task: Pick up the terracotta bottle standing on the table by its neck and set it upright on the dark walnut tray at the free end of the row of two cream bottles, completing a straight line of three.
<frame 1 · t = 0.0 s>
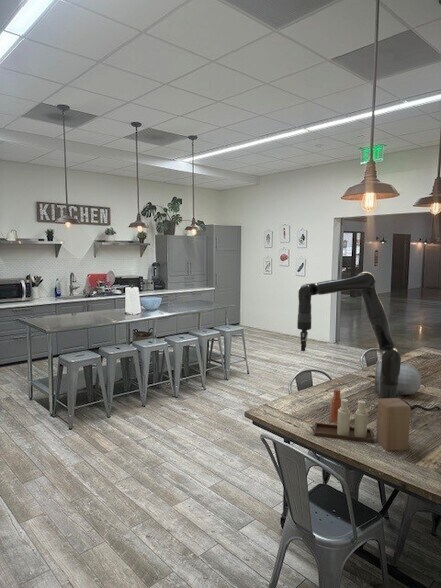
hand: (303, 349, 220), 29 cm above the table, tool pointing down, fingers open, 8 cm apart
wooden block: (391, 446, 172), on the table
terracotta bottle: (335, 421, 196), on the table
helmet: (392, 392, 235), on the table
tray: (343, 434, 182), on the table
cream bottle 1: (360, 435, 180), resting on tray
cream bottle 2: (343, 433, 182), resting on tray
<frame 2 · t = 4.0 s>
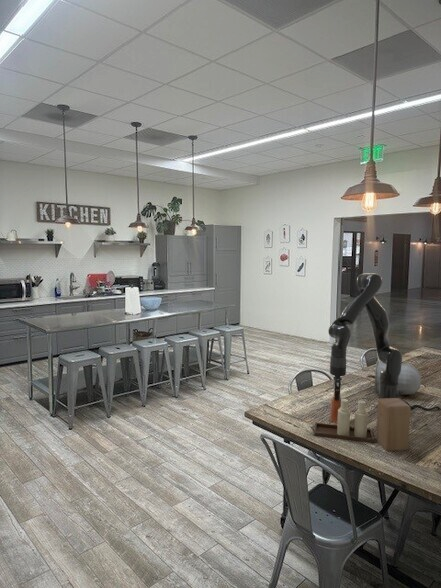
hand: (336, 398, 195), 12 cm above the table, tool pointing down, fingers closed on terracotta bottle, 4 cm apart
terracotta bottle: (335, 421, 196), on the table, touching gripper
everything else where it was.
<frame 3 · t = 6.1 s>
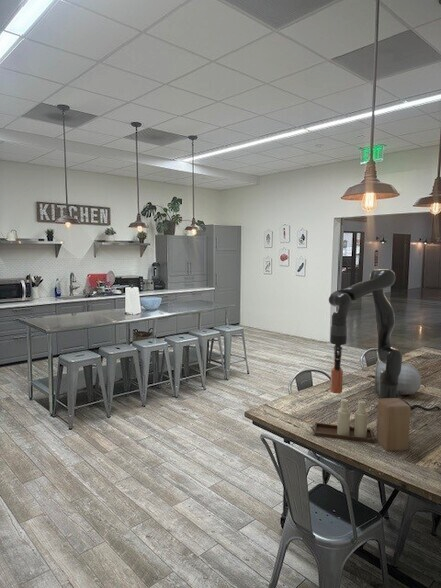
hand: (337, 368, 192), 27 cm above the table, tool pointing down, fingers closed on terracotta bottle, 4 cm apart
terracotta bottle: (336, 391, 193), point 16 cm above the table, touching gripper
everything else where it was.
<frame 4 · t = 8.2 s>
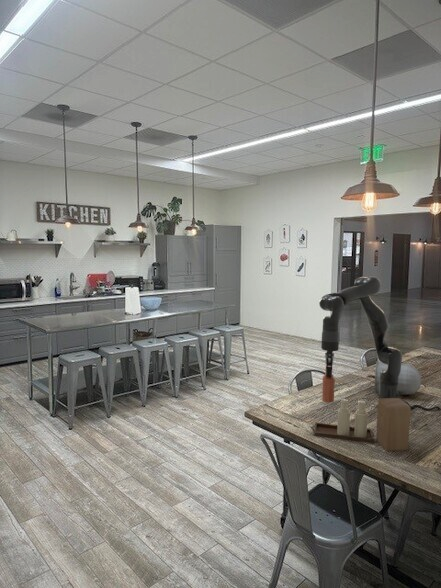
hand: (328, 375, 181), 27 cm above the table, tool pointing down, fingers closed on terracotta bottle, 4 cm apart
terracotta bottle: (327, 400, 183), point 15 cm above the table, touching gripper
everything else where it was.
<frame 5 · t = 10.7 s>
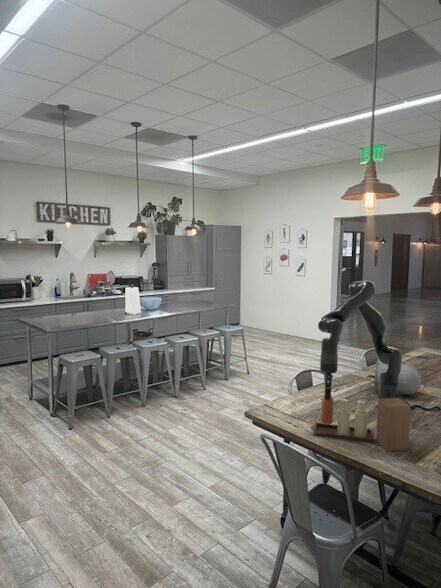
hand: (327, 397, 182), 17 cm above the table, tool pointing down, fingers closed on terracotta bottle, 4 cm apart
terracotta bottle: (326, 421, 183), point 5 cm above the table, touching gripper
everything else where it was.
when the fingers open (12 cm above the table, at t = 12.5 s): terracotta bottle stays where it is, resting on tray.
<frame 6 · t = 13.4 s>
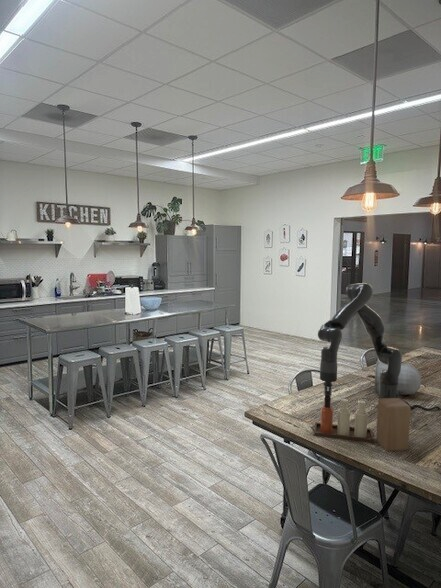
hand: (327, 403, 182), 14 cm above the table, tool pointing down, fingers open, 8 cm apart
terracotta bottle: (326, 431, 184), resting on tray
everything else where it was.
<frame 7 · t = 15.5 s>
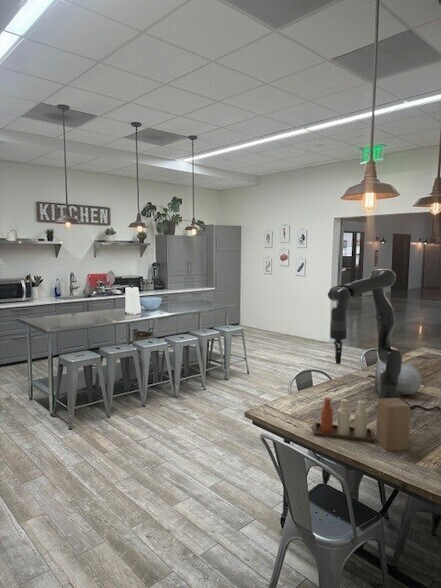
hand: (337, 361, 192), 31 cm above the table, tool pointing down, fingers open, 8 cm apart
nothing on the table moved.
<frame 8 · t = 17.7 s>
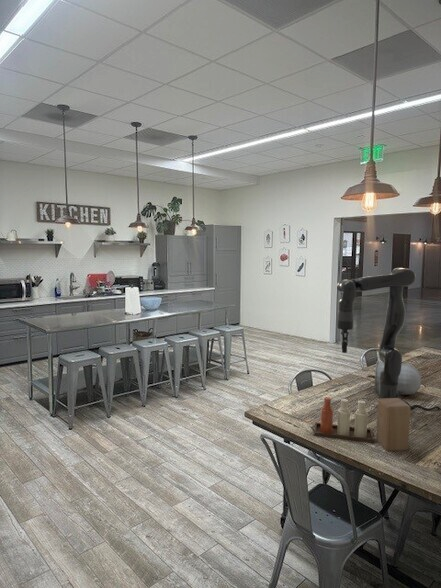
hand: (344, 350, 203), 33 cm above the table, tool pointing down, fingers open, 8 cm apart
nothing on the table moved.
at the end: terracotta bottle 0.1 cm from the target spot on the table beside the cream bottle 2, resting on tray; terracotta bottle tilted 0°; the gripper is holding nothing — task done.
